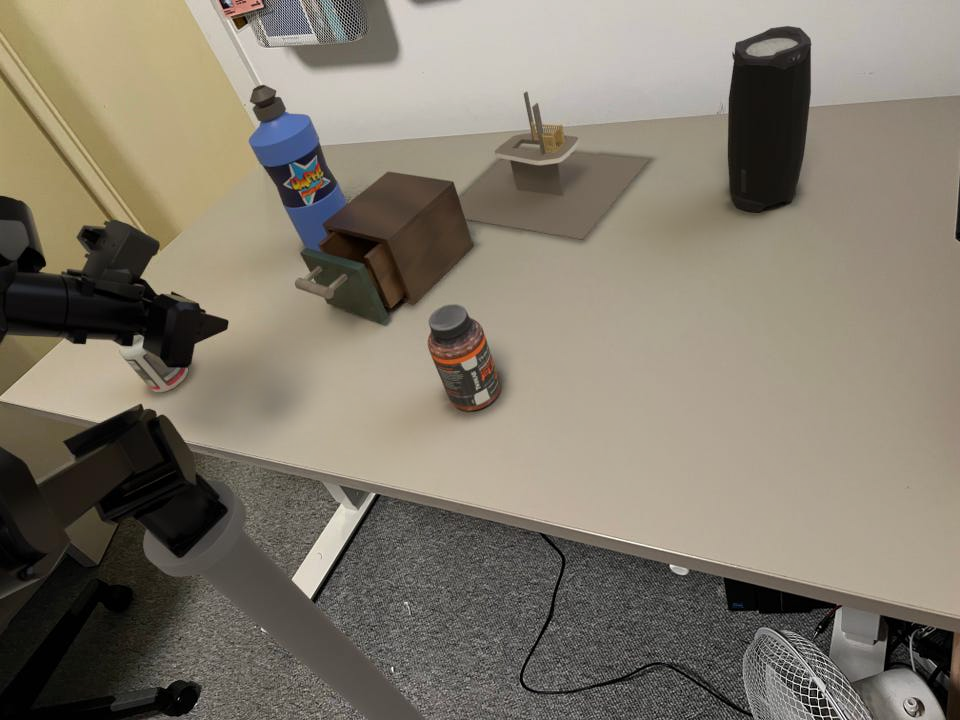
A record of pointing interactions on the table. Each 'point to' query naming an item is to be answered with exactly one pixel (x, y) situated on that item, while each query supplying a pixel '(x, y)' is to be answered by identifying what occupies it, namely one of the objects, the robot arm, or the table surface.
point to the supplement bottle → (462, 358)
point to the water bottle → (295, 165)
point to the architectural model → (548, 183)
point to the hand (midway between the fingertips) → (215, 319)
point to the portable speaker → (768, 116)
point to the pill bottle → (151, 367)
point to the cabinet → (409, 227)
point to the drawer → (352, 275)
